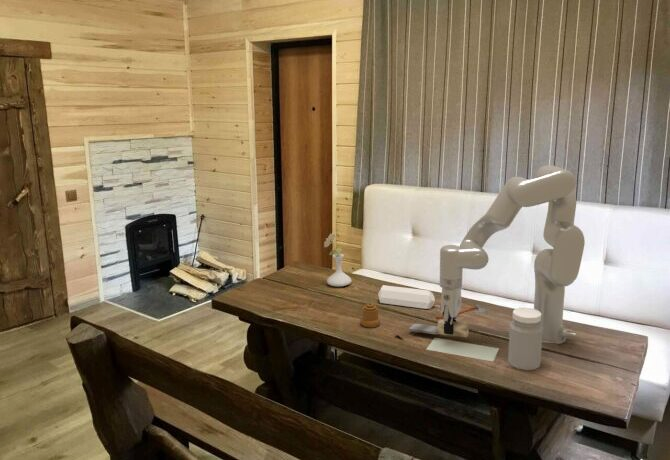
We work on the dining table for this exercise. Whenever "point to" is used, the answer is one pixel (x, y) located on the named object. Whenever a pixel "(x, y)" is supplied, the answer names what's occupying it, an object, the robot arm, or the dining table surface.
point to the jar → (525, 339)
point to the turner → (442, 328)
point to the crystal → (406, 297)
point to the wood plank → (406, 333)
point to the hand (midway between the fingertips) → (449, 331)
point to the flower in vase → (337, 266)
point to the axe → (478, 307)
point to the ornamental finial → (370, 316)
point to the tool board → (463, 349)
